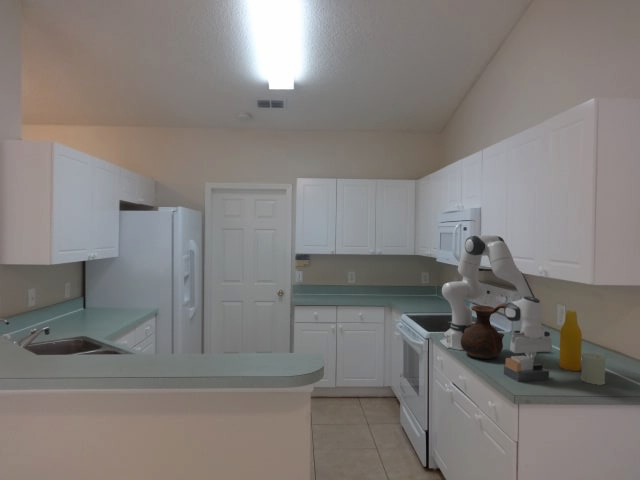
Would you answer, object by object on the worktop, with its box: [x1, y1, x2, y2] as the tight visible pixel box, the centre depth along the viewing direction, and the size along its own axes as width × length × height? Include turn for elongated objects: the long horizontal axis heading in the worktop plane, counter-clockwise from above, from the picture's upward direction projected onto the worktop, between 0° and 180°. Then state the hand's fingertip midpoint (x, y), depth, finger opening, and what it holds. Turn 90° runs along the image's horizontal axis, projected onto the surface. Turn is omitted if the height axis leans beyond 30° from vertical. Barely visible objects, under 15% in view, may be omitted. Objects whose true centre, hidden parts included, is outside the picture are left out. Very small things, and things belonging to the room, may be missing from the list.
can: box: [580, 352, 607, 386], centre depth 183 cm, size 9×9×12 cm
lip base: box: [503, 357, 550, 383], centre depth 187 cm, size 16×10×8 cm, turn 102°
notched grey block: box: [510, 355, 534, 371], centre depth 187 cm, size 7×6×5 cm
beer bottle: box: [558, 309, 583, 372], centre depth 200 cm, size 9×9×29 cm
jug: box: [461, 303, 507, 360], centre depth 219 cm, size 22×22×30 cm
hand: (530, 361), depth 187 cm, fingers closed
